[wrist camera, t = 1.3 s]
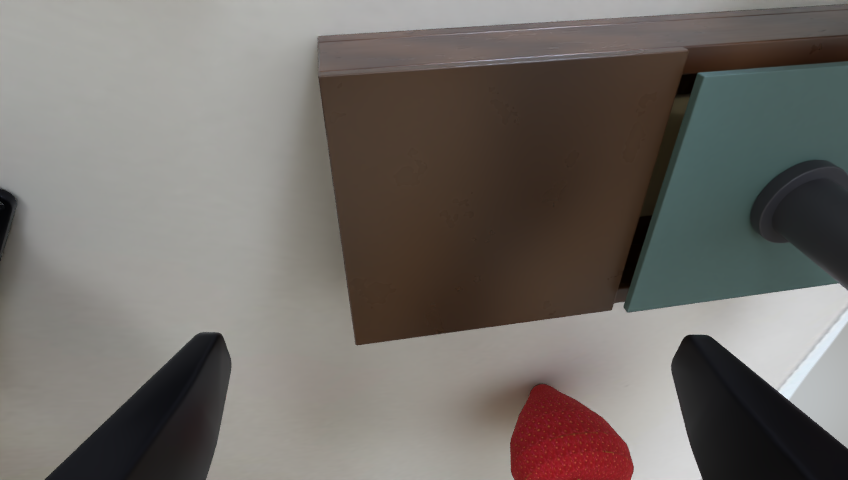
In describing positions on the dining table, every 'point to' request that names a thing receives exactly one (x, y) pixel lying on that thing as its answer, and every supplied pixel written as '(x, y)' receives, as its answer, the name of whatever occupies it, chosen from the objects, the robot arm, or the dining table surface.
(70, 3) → the dining table surface
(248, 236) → the dining table surface
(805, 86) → the peg plate
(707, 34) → the sliding lid box
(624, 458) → the strawberry
